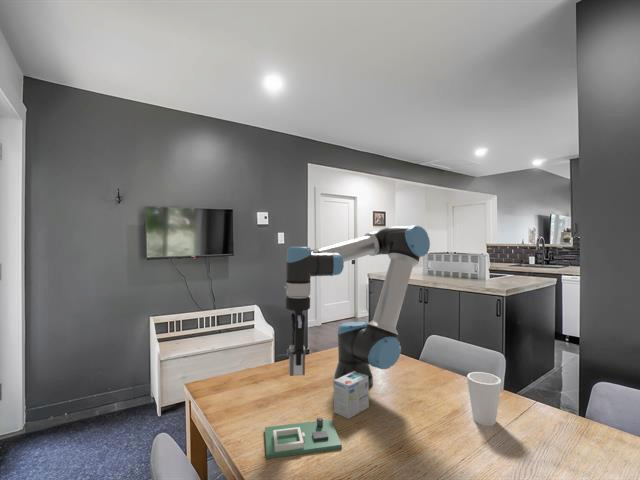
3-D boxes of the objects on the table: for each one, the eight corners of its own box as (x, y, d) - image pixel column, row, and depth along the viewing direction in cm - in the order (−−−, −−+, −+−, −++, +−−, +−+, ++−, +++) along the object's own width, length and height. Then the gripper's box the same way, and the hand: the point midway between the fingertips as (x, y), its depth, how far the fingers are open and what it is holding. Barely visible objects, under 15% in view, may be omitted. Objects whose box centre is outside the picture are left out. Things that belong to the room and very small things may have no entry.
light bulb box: (354, 400, 117) (353, 370, 117) (369, 407, 112) (369, 375, 112) (333, 412, 110) (332, 379, 110) (348, 420, 105) (348, 385, 105)
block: (303, 369, 107) (303, 344, 107) (304, 375, 102) (305, 348, 102) (286, 370, 106) (286, 345, 106) (287, 376, 101) (287, 349, 101)
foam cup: (498, 415, 106) (498, 374, 106) (504, 430, 98) (503, 386, 98) (466, 410, 110) (465, 370, 110) (468, 425, 101) (468, 382, 101)
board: (330, 422, 103) (330, 412, 103) (341, 448, 91) (341, 437, 91) (264, 430, 99) (264, 420, 99) (266, 458, 87) (266, 447, 87)
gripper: (284, 292, 112) (283, 362, 112) (287, 301, 95) (286, 384, 95) (306, 292, 114) (305, 361, 113) (314, 300, 96) (313, 382, 96)
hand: (297, 371), depth 104 cm, fingers closed on block, 4 cm apart
